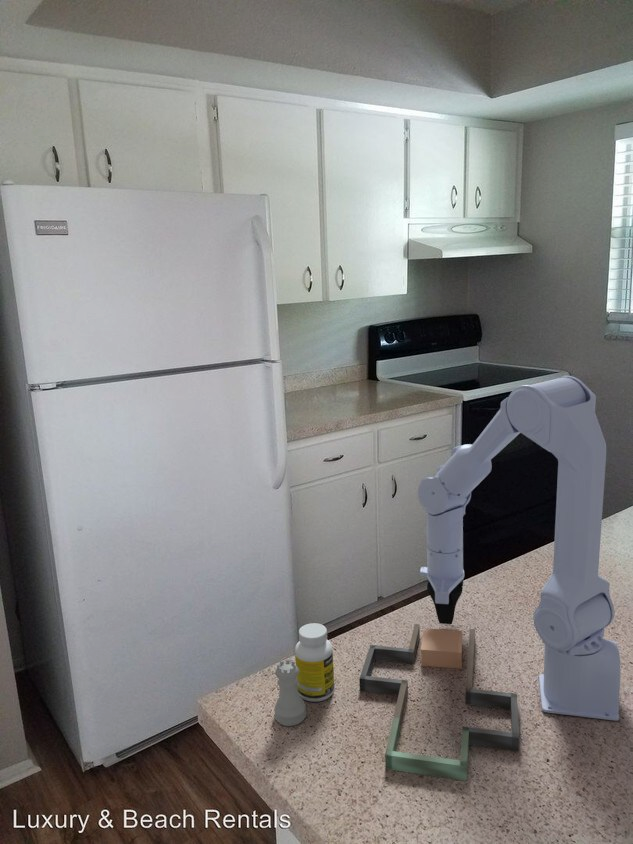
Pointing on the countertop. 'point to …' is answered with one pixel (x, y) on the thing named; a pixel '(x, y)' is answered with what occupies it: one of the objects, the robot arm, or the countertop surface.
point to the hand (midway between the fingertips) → (445, 621)
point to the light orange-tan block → (441, 648)
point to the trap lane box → (469, 734)
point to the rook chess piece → (289, 696)
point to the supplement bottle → (314, 663)
